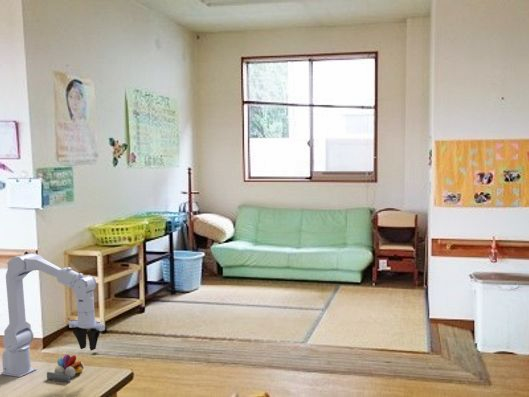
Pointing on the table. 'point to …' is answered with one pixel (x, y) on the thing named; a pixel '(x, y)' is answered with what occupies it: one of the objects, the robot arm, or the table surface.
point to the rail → (58, 377)
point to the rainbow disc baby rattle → (69, 366)
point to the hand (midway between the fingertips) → (88, 348)
